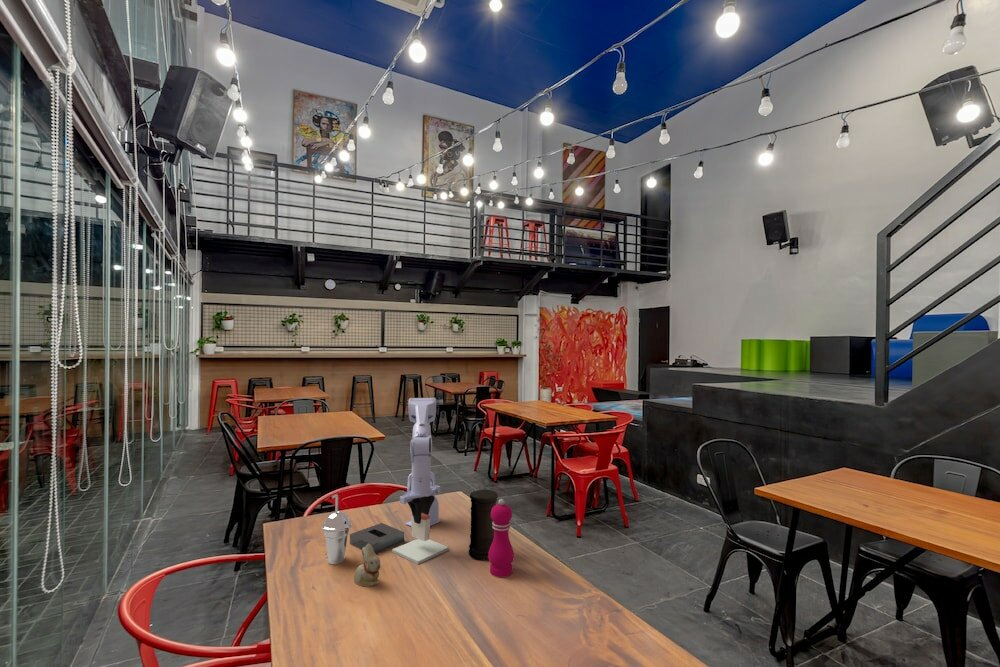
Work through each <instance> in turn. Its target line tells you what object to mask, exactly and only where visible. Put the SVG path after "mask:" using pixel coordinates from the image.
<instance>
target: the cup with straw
mask: <svg viewBox="0 0 1000 667" xmlns="http://www.w3.org/2000/svg"><path fill="white" fill-rule="evenodd" d="M334 498H335V511H334V512H331V513H330V514H329V515H328V516H327V517H326V518H325V520H324V522H323V523H322V524H321V528H320V530H321V531H322V532H323V534H324V538H325V546H326V555H327V556H326V557H327V562H328V564H330V565H338V564H341V563H343V562H344V561H345V556H346V551H347V550H346V548H347V542H348V535H349V532H350V528H351V527H352V526H353V523H352V520H350V518H349V516H348V515H347V514H346V512H343V511H339V495H338V493H335V494H333V495H331V496H330V497H329V500H332V499H334Z"/></svg>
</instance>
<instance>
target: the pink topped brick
mask: <svg viewBox="0 0 1000 667" xmlns="http://www.w3.org/2000/svg"><path fill="white" fill-rule="evenodd" d="M430 529H431V526H430V516H429V515H426V514H424V513H421V522H420V524H418V523H415V522H414V518H413V514H412V527H411V537H413V538H416V539H420V540H423V541H427V540H431V538H430V536H431V535H430V533H431V530H430Z"/></svg>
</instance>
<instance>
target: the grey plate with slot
mask: <svg viewBox="0 0 1000 667" xmlns="http://www.w3.org/2000/svg"><path fill="white" fill-rule="evenodd" d="M404 542H405V531H402V530H400V529H397V528H395V527H393V526H390V525H389V524H386V523H383V522H380V523H377V524H375V525H372V526H370V527H369V526H368V527H366V528H363V529H360V530H358V531H355V532H352V533H349V545H352V546H354V547H355V548H357V549H360V550H361V551H362V548H363V547H365V546H366V545H367V544H371V545H372V547H373V549H374V552H375V554H376V555H377V554H378V553H380V552H382V551H385V550H388V549H390V548H392V547H395V546H397V545H400V544H402V543H404Z"/></svg>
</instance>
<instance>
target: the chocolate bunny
mask: <svg viewBox="0 0 1000 667" xmlns="http://www.w3.org/2000/svg"><path fill="white" fill-rule="evenodd" d="M361 554H362V558H363V564H360V565H359V566H358V567H357V568H356V569H355V571H354V575H353V578H354V580H353V581H354V583H355V584H356V585H358V586H361V587H368V588H370V587H375V586H377V585H378V582H379V580H378V578H379V575H380V571H379V570H380V569H381V559H380V557H379V556H378V555H377V553H376V554H375V552H374V549H373V547H372V545H371V544H367V545H366V546H365V547H363V548H362V550H361Z"/></svg>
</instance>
